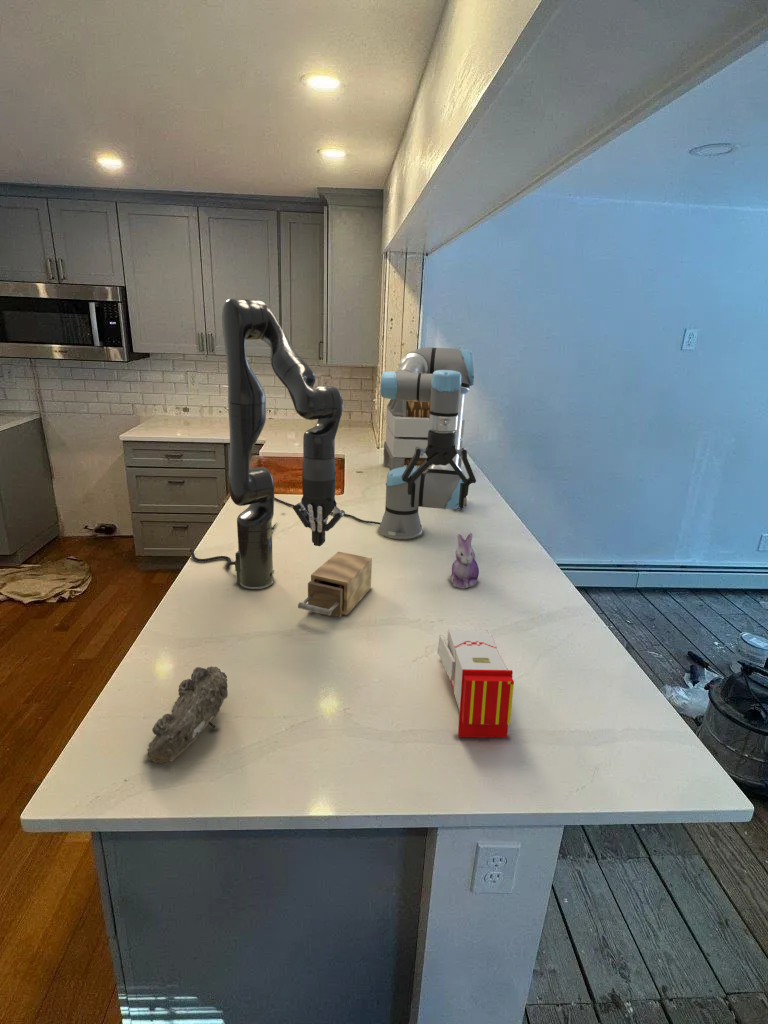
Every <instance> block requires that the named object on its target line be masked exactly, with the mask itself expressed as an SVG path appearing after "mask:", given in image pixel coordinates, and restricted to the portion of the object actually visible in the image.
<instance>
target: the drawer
mask: <svg viewBox="0 0 768 1024" xmlns="http://www.w3.org/2000/svg"><path fill="white" fill-rule="evenodd" d="M343 607H344V585H340V584H335V583H331V582H326V581H322V580H316V583H315V582H311V580H310V581H308V583H307V598H305V599H303V601H300V602H299V603H298V604H297V608H298V609H300V610H305V611H308V612H312V613H317V614H321V615H326V616H329V617H330V616H331V615H332V616H335V617H341V616H342V615H343V614H342V608H343Z"/></svg>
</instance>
